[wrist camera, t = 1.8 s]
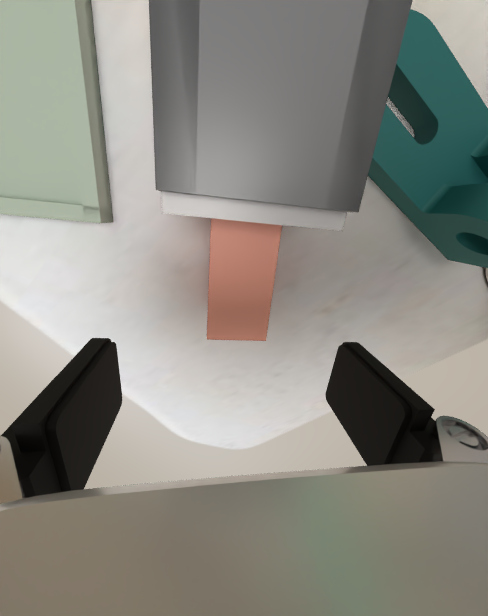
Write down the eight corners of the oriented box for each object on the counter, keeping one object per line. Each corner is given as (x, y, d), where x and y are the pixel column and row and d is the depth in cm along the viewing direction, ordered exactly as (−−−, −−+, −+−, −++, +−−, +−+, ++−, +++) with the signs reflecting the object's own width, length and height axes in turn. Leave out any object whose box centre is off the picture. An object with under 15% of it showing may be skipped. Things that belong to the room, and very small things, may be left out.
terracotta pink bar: (278, 86, 16) (311, 19, 10) (253, 307, 22) (266, 341, 16) (217, 76, 15) (218, -1, 10) (209, 305, 21) (206, 339, 16)
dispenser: (286, 222, 19) (352, 233, 10) (187, 212, 18) (156, 213, 9) (314, 41, 15) (470, -226, 6) (188, 15, 14) (135, -365, 5)
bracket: (508, 194, 20) (670, 185, 13) (445, 259, 22) (558, 282, 15) (375, 6, 15) (525, -189, 8) (305, 111, 17) (374, 34, 9)
